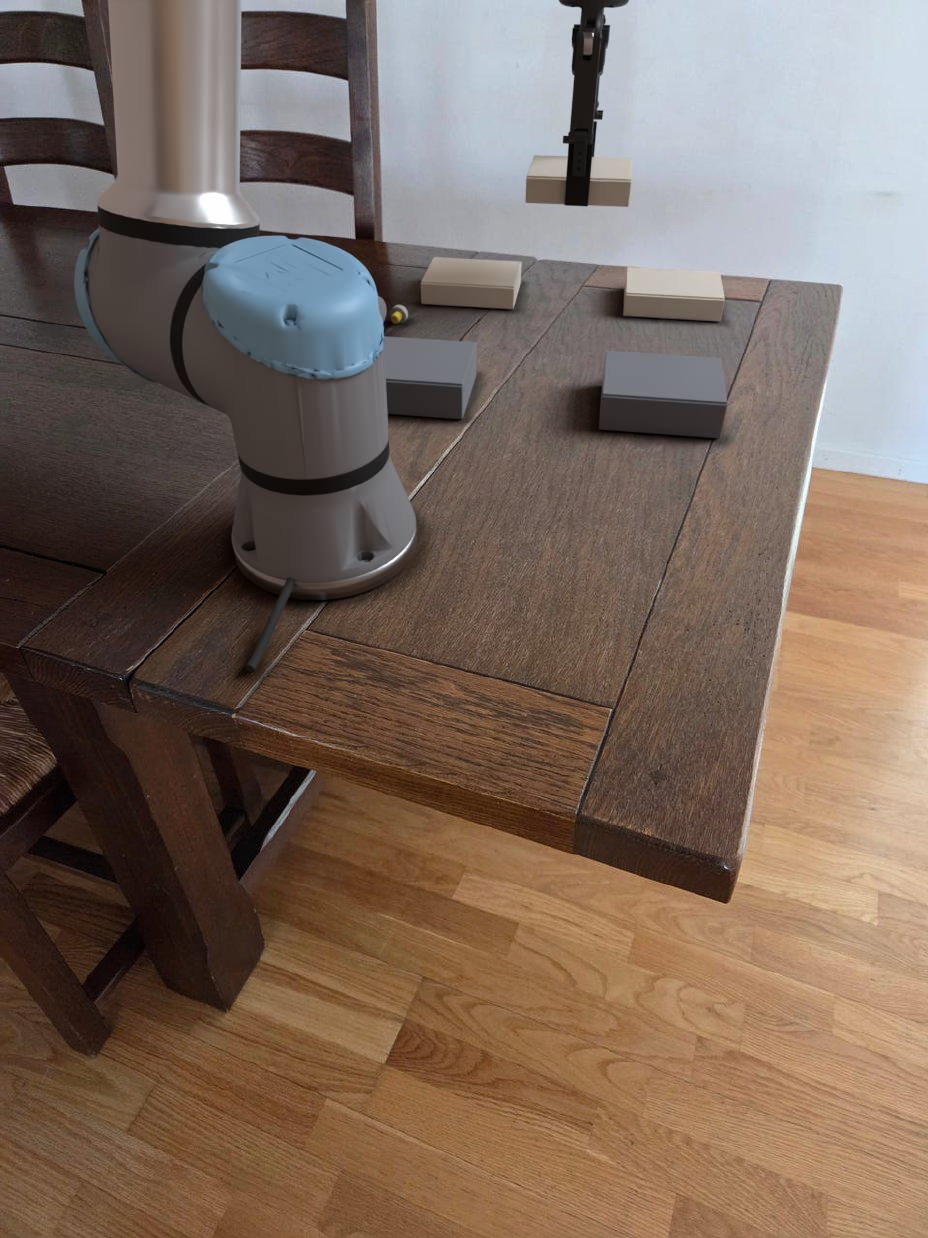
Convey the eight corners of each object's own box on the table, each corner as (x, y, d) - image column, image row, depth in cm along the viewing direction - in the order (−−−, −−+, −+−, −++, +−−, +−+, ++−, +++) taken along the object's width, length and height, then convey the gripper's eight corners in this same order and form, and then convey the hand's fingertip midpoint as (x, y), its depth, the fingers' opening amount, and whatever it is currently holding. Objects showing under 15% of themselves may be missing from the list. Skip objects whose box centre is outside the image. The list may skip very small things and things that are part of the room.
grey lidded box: (462, 421, 88) (461, 385, 86) (348, 412, 90) (345, 377, 87) (476, 376, 96) (476, 341, 93) (371, 369, 98) (369, 335, 95)
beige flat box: (628, 207, 99) (631, 179, 97) (525, 203, 101) (526, 176, 99) (629, 184, 106) (632, 157, 104) (532, 181, 108) (534, 154, 106)
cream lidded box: (720, 322, 107) (725, 298, 105) (623, 316, 108) (626, 293, 106) (715, 294, 114) (719, 271, 112) (624, 289, 115) (627, 266, 113)
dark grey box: (719, 440, 85) (727, 403, 83) (598, 431, 87) (602, 394, 84) (713, 392, 93) (720, 357, 90) (602, 384, 94) (605, 350, 92)
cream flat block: (513, 310, 110) (513, 287, 108) (421, 305, 111) (420, 281, 109) (520, 283, 117) (521, 261, 115) (434, 279, 118) (433, 256, 116)
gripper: (632, -31, 80) (607, 222, 95) (634, -51, 96) (612, 168, 111) (552, -32, 81) (539, 219, 96) (567, -52, 97) (554, 166, 112)
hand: (578, 192), depth 103 cm, fingers closed on beige flat box, 9 cm apart
